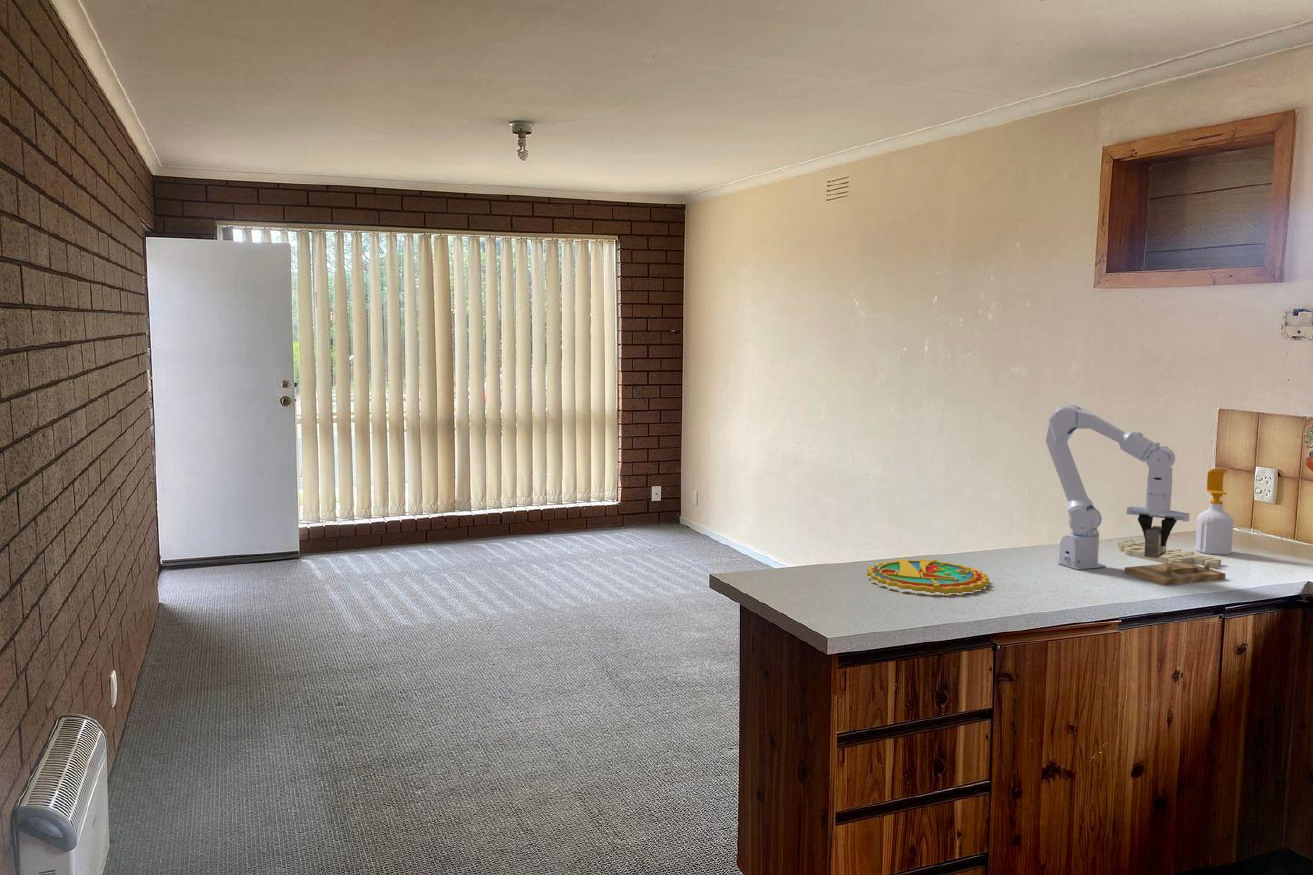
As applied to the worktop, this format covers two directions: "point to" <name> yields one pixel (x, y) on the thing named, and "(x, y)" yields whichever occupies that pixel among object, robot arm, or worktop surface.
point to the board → (1175, 573)
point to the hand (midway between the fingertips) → (1155, 544)
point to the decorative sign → (1166, 554)
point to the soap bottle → (1214, 520)
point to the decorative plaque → (928, 576)
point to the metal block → (1154, 542)
